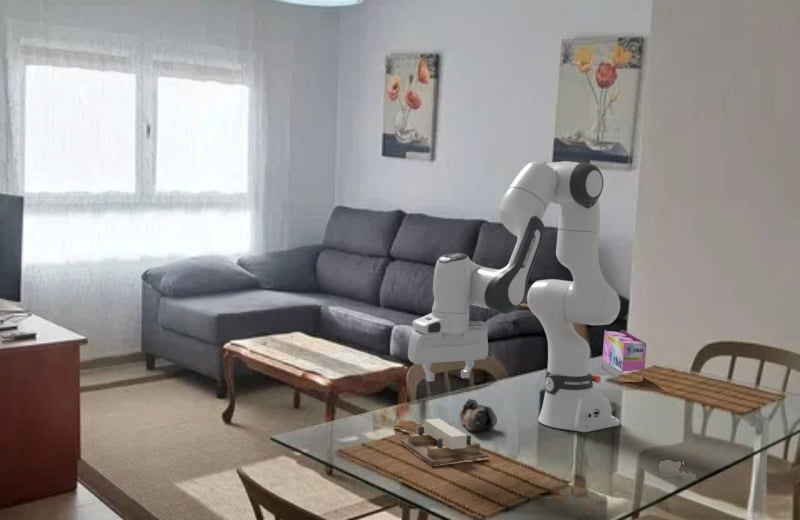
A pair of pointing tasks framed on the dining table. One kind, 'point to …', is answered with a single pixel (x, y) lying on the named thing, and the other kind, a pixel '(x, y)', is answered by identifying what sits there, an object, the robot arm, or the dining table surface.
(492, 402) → the dining table surface
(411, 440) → the walnut rack
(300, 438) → the dining table surface
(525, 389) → the dining table surface
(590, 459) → the dining table surface
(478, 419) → the bison figurine
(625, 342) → the gum box
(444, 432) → the clay strip
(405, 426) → the shard
